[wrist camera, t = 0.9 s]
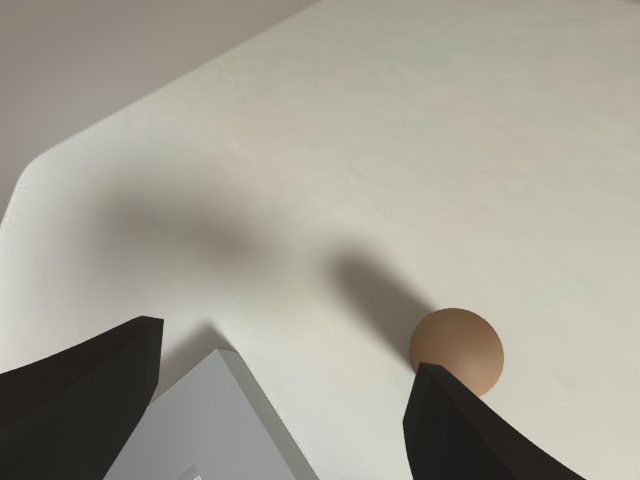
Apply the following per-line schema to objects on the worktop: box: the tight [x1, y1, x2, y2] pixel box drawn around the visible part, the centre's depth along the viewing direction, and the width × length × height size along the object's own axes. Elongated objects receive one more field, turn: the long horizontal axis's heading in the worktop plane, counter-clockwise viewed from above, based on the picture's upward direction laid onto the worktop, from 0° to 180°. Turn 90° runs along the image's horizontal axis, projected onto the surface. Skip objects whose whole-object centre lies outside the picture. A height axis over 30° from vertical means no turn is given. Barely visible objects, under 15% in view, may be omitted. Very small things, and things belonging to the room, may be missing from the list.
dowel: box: [410, 308, 504, 397], centre depth 21 cm, size 4×4×8 cm
